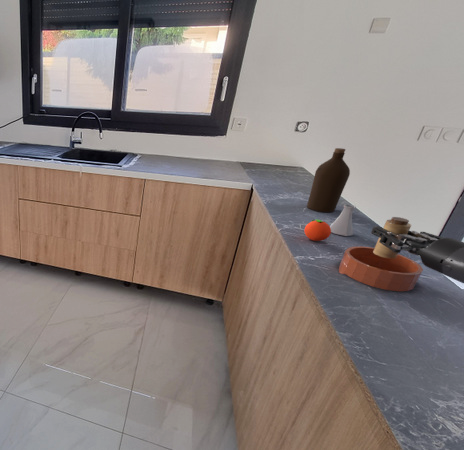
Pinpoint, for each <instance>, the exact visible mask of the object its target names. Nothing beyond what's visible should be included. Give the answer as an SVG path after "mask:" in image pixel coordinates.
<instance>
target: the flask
mask: <svg viewBox="0 0 464 450" xmlns="http://www.w3.org/2000/svg"><path fill="white" fill-rule="evenodd" d="M356 208H357V207H356V205H353V204H347V203H346V204H343V209H342V211H341V213H340V214H339V215H338V217H336V219H335V220H334V221H333V222H332V223H331V224H329V226H330V228H331V234H332V233H333V234H334V235H338V236H339V235H340V236H342V237H343V236H344V237H349V236H353V235H354V228H353V212H354V210H355V209H356Z"/></svg>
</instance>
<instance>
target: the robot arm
mask: <svg viewBox="0 0 464 450" xmlns="http://www.w3.org/2000/svg"><path fill="white" fill-rule="evenodd" d="M370 233H371V234H372V235H374V236H376V237H378V238H379V237H380V238H381V239H380V241H379V242H380V243H381V244H383V245H384V246H386V247H387V248H389V249H390V250H392V251H393V252H396V253H398V254H399V253H401V251H405V252H408V253H409V254H411V255H414V256H419V257H420V260H421V263H422V264H423V265H424V266H425V267H427V268H429V269H431V270H433V271H436V272H437V273H439V274H441V275H444V276H446V277H448V278H450V279H453V280H455V281H457V282H459V283H461V284H464V241H461V240H458V239H456V238H453V237H443V236H439V235H436V234H433V233H430V232H426V231H420V232H418V231H416V230H409V232H408V234H396V233H393V232H391V231H388V230H386V229H383V227H380V226H377V225H375V226H373V227H372V230H371V232H370ZM393 236H394V237H393ZM395 237H397V238H395ZM404 238H405V240H404ZM403 240H404V242H403Z"/></svg>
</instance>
